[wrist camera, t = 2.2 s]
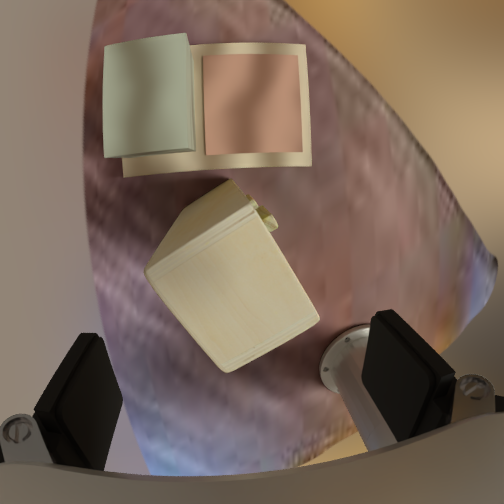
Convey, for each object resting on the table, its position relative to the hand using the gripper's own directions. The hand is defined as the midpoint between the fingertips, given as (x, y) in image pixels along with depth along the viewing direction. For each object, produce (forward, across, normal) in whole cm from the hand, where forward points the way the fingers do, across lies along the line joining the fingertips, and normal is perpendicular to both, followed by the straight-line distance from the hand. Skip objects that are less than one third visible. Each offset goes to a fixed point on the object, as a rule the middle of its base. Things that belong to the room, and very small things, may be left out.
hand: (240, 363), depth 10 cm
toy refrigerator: (+27, 0, +1) cm, 27 cm away
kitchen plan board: (+27, 0, -12) cm, 30 cm away
